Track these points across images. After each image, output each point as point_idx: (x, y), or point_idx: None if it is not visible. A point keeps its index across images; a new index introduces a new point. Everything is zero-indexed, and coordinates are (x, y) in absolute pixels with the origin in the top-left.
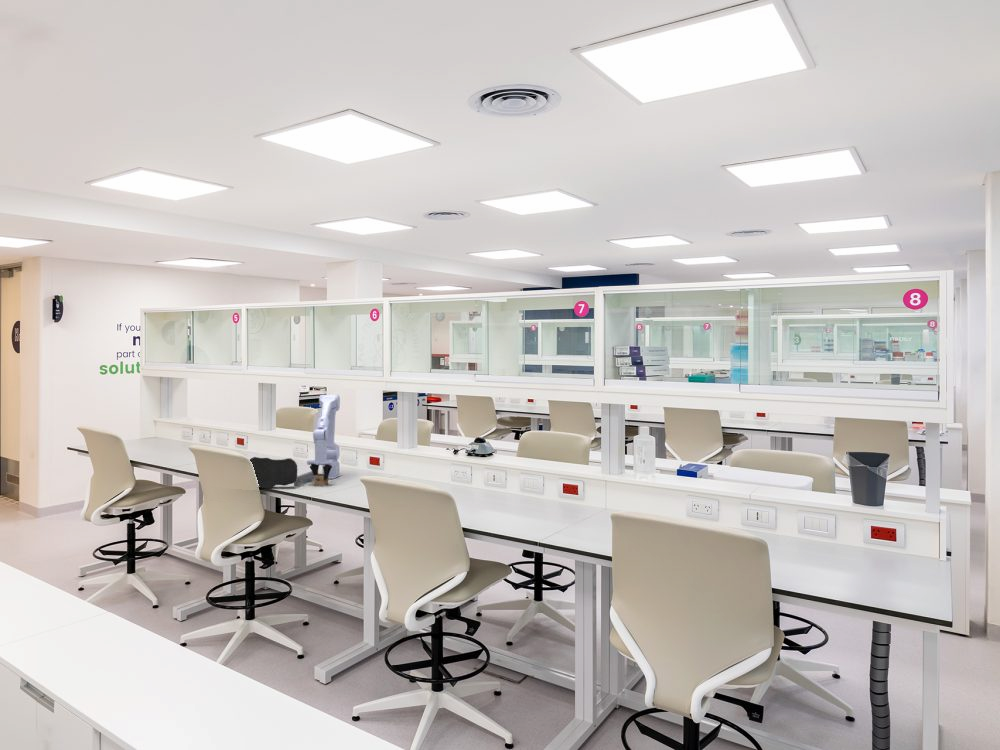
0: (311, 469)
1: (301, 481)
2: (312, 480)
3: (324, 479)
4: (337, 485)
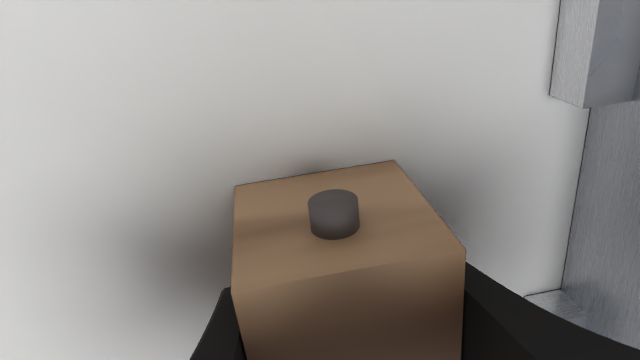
0: (635, 355)
1: (634, 122)
2: None
3: None
4: (52, 301)
